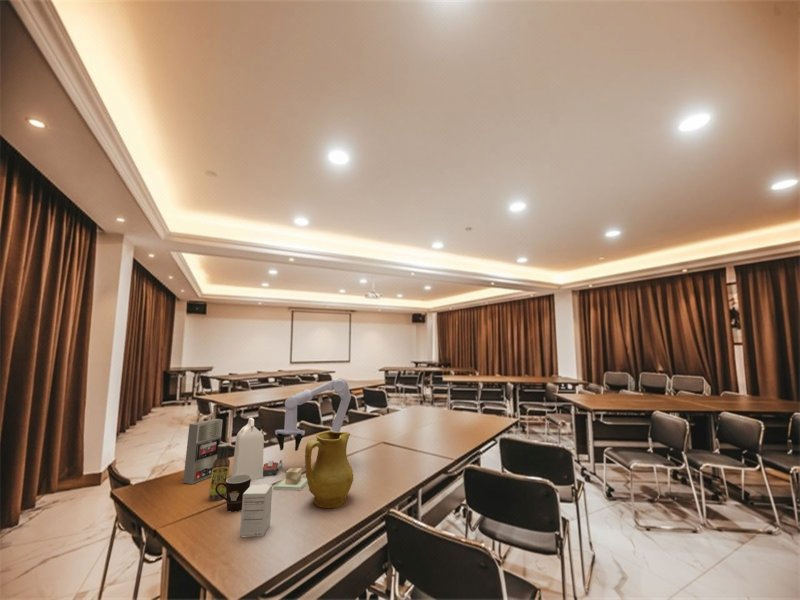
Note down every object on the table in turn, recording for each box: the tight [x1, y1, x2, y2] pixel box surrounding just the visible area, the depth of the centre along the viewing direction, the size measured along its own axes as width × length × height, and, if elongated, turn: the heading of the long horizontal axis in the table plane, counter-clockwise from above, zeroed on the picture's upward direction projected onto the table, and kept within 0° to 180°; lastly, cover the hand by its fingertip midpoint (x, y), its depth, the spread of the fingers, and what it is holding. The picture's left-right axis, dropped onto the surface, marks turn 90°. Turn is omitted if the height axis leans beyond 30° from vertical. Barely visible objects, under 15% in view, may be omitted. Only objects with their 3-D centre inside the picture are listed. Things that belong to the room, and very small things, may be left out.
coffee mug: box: [215, 475, 252, 513], centre depth 120 cm, size 12×9×10 cm
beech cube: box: [285, 467, 302, 485], centre depth 141 cm, size 5×5×5 cm
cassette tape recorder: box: [182, 418, 223, 485], centre depth 150 cm, size 14×6×25 cm, turn 161°
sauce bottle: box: [208, 443, 231, 501], centre depth 129 cm, size 6×6×20 cm
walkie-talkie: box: [263, 459, 283, 478], centre depth 160 cm, size 9×4×20 cm
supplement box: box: [239, 483, 273, 538], centre depth 104 cm, size 7×7×13 cm
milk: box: [231, 417, 265, 481], centre depth 152 cm, size 12×12×26 cm
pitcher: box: [304, 430, 354, 509], centre depth 126 cm, size 17×19×25 cm
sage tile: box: [272, 476, 308, 491], centre depth 141 cm, size 12×12×1 cm
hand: (289, 450), depth 158 cm, fingers open, 7 cm apart
